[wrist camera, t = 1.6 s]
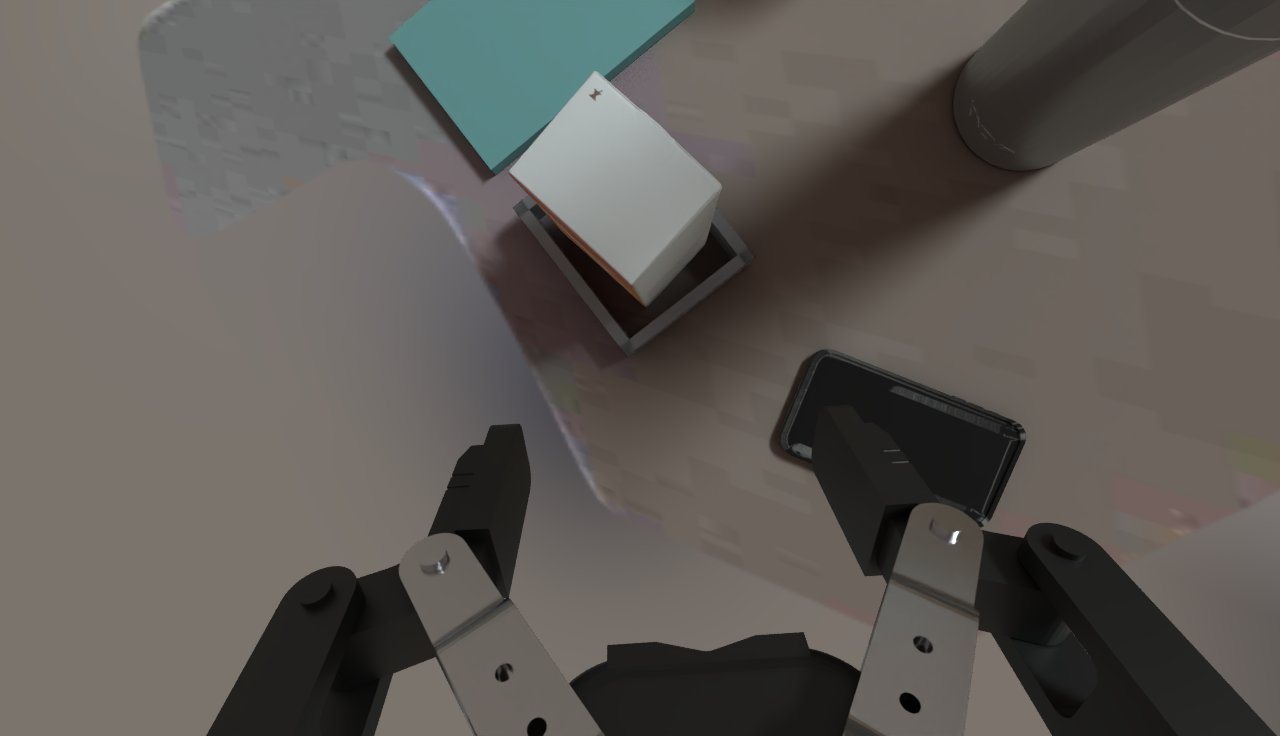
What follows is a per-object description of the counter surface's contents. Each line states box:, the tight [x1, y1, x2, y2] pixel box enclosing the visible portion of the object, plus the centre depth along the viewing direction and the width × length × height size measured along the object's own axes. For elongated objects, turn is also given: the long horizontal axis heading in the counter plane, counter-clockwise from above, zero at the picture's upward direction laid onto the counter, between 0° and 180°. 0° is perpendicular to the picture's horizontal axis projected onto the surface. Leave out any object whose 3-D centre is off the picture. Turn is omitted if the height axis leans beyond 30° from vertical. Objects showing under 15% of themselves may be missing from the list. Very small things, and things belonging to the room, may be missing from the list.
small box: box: [509, 71, 722, 308], centre depth 29 cm, size 8×6×13 cm
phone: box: [778, 349, 1026, 527], centre depth 35 cm, size 8×1×15 cm
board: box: [389, 0, 695, 175], centre depth 35 cm, size 18×12×1 cm, turn 128°
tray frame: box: [513, 106, 755, 356], centre depth 35 cm, size 11×13×2 cm
